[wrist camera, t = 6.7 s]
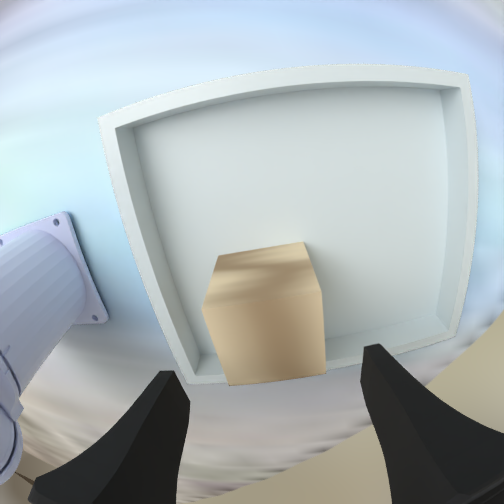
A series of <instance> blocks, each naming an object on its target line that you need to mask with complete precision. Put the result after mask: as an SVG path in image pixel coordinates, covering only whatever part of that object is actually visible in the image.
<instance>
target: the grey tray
mask: <svg viewBox="0 0 504 504" xmlns="http://www.w3.org/2000/svg"><path fill="white" fill-rule="evenodd" d="M98 124H99V129H100V134H101V139H102V144H103V148H104V153H105V157H106V162H107V166H108V170H109V174H110V178H111V182H112V186H113V190H114V194H115V197H116V201H117V205H118V208H119V212H120V215H121V218H122V222H123V225H124V228H125V232H126V235H127V238H128V241H129V244H130V247H131V250H132V253H133V256H134V259H135V262H136V265H137V267H138V270H139V273H140V276H141V279H142V281H143V284H144V287H145V289H146V292H147V294H148V297H149V300H150V302H151V305H152V307H153V310H154V312H155V314H156V317H157V319H158V322H159V324H160V326H161V329H162V331H163V333H164V336H165V338H166V340H167V342H168V345H169V347H170V349H171V351H172V353H173V356H174V358H175V360H176V362H177V364H178V366H179V368H180V370H181V372H182V374H183V377H184V379H185V381H186V383H187V384H212V383H228V382H227V379H226V377H225V374H224V371H223V369H222V366H221V363H220V361H219V358H218V355H217V353H216V350H215V347H214V344H213V342H212V339H211V336H210V333H209V330H208V328H207V325H206V322H205V319H204V316H203V313H202V310H201V309H202V305H203V302H204V299H205V296H206V293H207V289H208V286H209V283H210V280H211V277H212V274H213V270H214V267H215V264H216V261H217V258H218V255H224V254H230V253H236V252H242V251H248V250H254V249H260V248H266V247H272V246H278V245H284V244H290V243H297V242H304V245H305V247H306V250H307V253H308V255H309V258H310V261H311V264H312V266H313V269H314V272H315V275H316V277H317V280H318V283H319V286H320V289H321V292H322V305H323V319H324V336H325V356H326V370H332V369H337V368H342V367H347V366H352V365H356V364H361V363H362V361H363V350H364V346H369V345H373V344H377V343H380V344H381V345H382V346H383V347H384V348H385V349H386V350H387V351H388V352H389V353H390V354H391V355H392V356H394V355H398V354H401V353H405V352H409V351H412V350H415V349H419V348H422V347H425V346H429V345H432V344H435V343H438V342H441V341H444V340H447V339H450V338H453V337H455V335H456V332H457V328H458V324H459V321H460V317H461V313H462V309H463V305H464V300H465V296H466V291H467V286H468V281H469V276H470V270H471V264H472V257H473V250H474V242H475V233H476V222H477V208H478V147H477V133H476V122H475V113H474V106H473V99H472V93H471V87H470V81H469V76H468V74H463V73H458V72H452V71H446V70H439V69H432V68H423V67H414V66H402V65H385V64H331V65H314V66H301V67H291V68H282V69H274V70H267V71H260V72H254V73H248V74H242V75H237V76H231V77H226V78H222V79H217V80H212V81H208V82H204V83H200V84H196V85H192V86H188V87H184V88H181V89H177V90H174V91H170V92H167V93H164V94H160V95H157V96H154V97H151V98H148V99H145V100H142V101H139V102H136V103H134V104H131V105H128V106H125V107H123V108H120V109H118V110H115V111H113V112H110V113H108V114H105V115H103V116H100V117H98Z"/></svg>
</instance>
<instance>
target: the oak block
mask: <svg viewBox="0 0 504 504" xmlns="http://www.w3.org/2000/svg"><path fill="white" fill-rule="evenodd" d="M201 310H202V313H203V316H204V319H205V322H206V325H207V328H208V330H209V333H210V336H211V339H212V342H213V344H214V347H215V350H216V353H217V355H218V358H219V361H220V363H221V366H222V369H223V371H224V374H225V377H226V379H227V382H228V384H229V386H235V385H247V384H257V383H266V382H275V381H282V380H290V379H296V378H303V377H309V376H315V375H321V374H326V356H325V336H324V319H323V305H322V292H321V289H320V286H319V283H318V280H317V277H316V275H315V272H314V269H313V266H312V264H311V261H310V258H309V255H308V253H307V250H306V247H305V245H304V242H297V243H290V244H284V245H278V246H272V247H266V248H260V249H254V250H248V251H242V252H236V253H230V254H224V255H218V258H217V261H216V264H215V267H214V270H213V274H212V277H211V280H210V283H209V286H208V289H207V293H206V296H205V299H204V302H203V305H202V309H201Z"/></svg>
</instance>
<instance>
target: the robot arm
mask: <svg viewBox="0 0 504 504" xmlns="http://www.w3.org/2000/svg"><path fill="white" fill-rule="evenodd" d="M57 219H58V221H59V224H58V222H57ZM96 316H97V317H98V318H97V317H96ZM108 318H109V316H108V314H107V311H106V309H105V307H104V305H103V303H102V301H101V298H100V296H99V294H98V291H97V289H96V287H95V284H94V282H93V280H92V277H91V275H90V272H89V270H88V267H87V265H86V262H85V259H84V257H83V254H82V251H81V249H80V246H79V243H78V240H77V237H76V234H75V231H74V228H73V225H72V222H71V219H70V216H69V214H68V213H67V212H65V211H63V212H60V213H57V214H54V215H51V216H48V217H46V218H43V219H40V220H37V221H35V222H32V223H30V224H27V225H24V226H22V227H19V228H17V229H14V230H12V231H10V232H7V233H5V234H2V235H0V485H1V484H3V483H4V482H5V481H7V480H8V479H9V478H10V477H11V476H12V475H13V473H14V472H15V470H16V469H17V467H18V464H19V462H20V459H21V455H22V449H23V438H22V432H21V429H20V425H19V423H18V421H17V419H18V417H19V416H20V414H21V412H22V411H23V409H24V408H23V406H22V405H21V403H20V401H19V397H20V395H21V394H22V393H23V391H24V390H25V388H26V387H27V385H28V384H29V382H30V381H31V379H32V378H33V376H34V375H35V373H36V372H37V371H38V369H39V368H40V366H41V365H42V364H43V362H44V361H45V360H46V358H47V357H48V355H49V354H50V353H51V351H52V350H53V349H54V347H55V346H56V345H57V343H58V342H59V341H60V340H61V338H62V337H63V336H64V334H65V333H66V332H67V331H68V329H69V328H70V327H71V325H75V324H99V323H106V321H107V320H108ZM360 382H361V387H362V391H363V395H364V399H365V403H366V406H367V409H368V412H369V414H370V417H371V420H372V423H373V425H374V428H375V431H376V433H377V436H378V439H379V442H380V445H381V448H382V451H383V454H384V458H385V462H386V467H387V473H388V478H389V484H390V491H391V498H392V504H504V433H501V432H498V431H496V430H493V429H491V428H488V427H486V426H484V425H482V424H480V423H478V422H476V421H474V420H472V419H470V418H468V417H467V416H465V415H463V414H461V413H460V412H458V411H457V410H455V409H453V408H452V407H450V406H449V405H447V404H446V403H445V402H443V401H442V400H440V399H439V398H438V397H436V396H435V395H434V394H433V393H431V392H430V391H429V390H428V389H427V388H425V387H424V386H423V385H422V384H421V383H420V382H418V381H417V380H416V379H415V378H414V377H413V376H412V375H411V374H410V373H409V372H408V371H407V370H406V369H405V368H403V367H402V366H401V365H400V364H399V363H398V362H397V361H396V360H395V359H394V358H393V356H392V355H391V354H390V353H389V352H388V351H387V350H386V349H385V348H384V347H383V346H382V345H381V344H380V343H377V344H373V345H369V346H364V350H363V361H362V371H361V380H360ZM189 414H190V400H189V399H188V397H187V395H186V393H185V391H184V389H183V387H182V386H181V384H180V382H179V380H178V378H177V376H176V374H175V372H174V371H159V373H158V374H157V375H156V376H155V377H154V379H153V380H152V381H151V383H150V384H149V385H148V386H147V388H146V389H145V390H144V391H143V393H142V394H141V395H140V396H139V398H138V399H137V400H136V401H135V402H134V404H133V405H132V406H131V407H130V408H129V410H128V411H127V412H126V413H125V414H124V415H123V416H122V417H121V418H120V419H119V421H118V422H117V423H116V424H115V425H114V426H113V427H112V428H111V429H110V430H109V431H108V432H107V433H106V434H105V435H104V436H103V437H101V438H100V439H99V440H98V441H97V442H96V443H95V444H93V445H92V446H91V447H89V448H88V449H87V450H85V451H84V452H83V453H81V454H80V455H79V456H77V457H76V458H74V459H72V460H71V461H69V462H68V463H66V464H64V465H62V466H61V467H59V468H57V469H55V470H53V471H51V472H48V473H46V474H44V475H42V476H39V477H37V478H36V480H35V482H34V484H33V487H32V489H31V492H30V495H29V497H28V501H29V502H30V503H32V504H176V491H177V478H178V471H179V466H180V461H181V456H182V452H183V447H184V443H185V438H186V434H187V429H188V424H189Z"/></svg>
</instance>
